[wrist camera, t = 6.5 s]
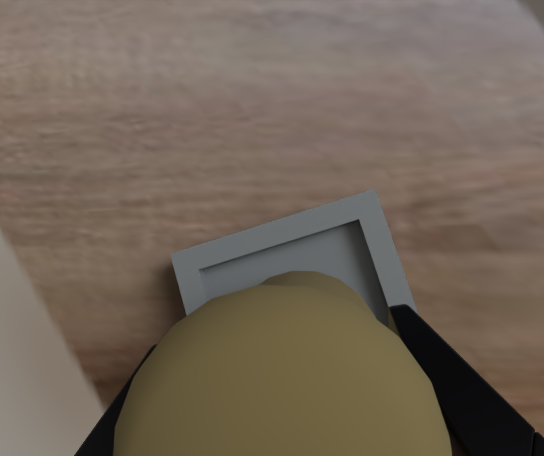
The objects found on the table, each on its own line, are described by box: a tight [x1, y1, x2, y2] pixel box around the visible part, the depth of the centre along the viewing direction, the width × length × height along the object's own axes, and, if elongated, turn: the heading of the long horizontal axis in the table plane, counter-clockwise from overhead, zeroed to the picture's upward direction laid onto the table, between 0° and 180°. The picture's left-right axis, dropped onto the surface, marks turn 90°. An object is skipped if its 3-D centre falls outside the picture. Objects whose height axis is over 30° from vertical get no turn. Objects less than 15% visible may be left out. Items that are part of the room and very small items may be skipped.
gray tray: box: [170, 188, 419, 329], centre depth 18 cm, size 10×9×2 cm
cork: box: [113, 271, 452, 456], centre depth 10 cm, size 6×6×11 cm
